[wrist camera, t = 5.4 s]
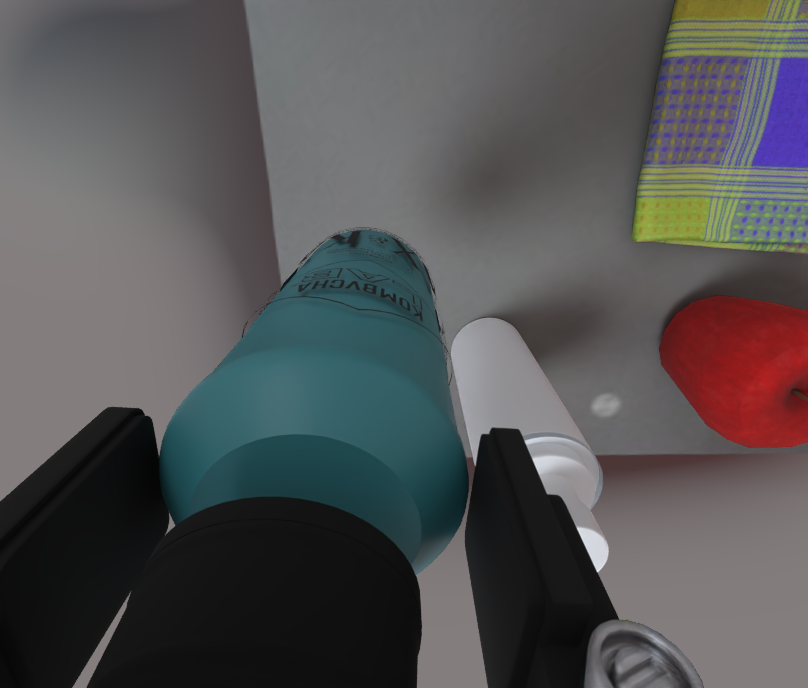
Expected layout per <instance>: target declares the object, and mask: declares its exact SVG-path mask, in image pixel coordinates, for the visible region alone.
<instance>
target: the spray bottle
mask: <svg viewBox="0 0 808 688" xmlns="http://www.w3.org/2000/svg"><path fill="white" fill-rule="evenodd" d="M451 358H452V363H453V368H454V372H455V377H456V382H457V386H458V391H459V395H460V400H461V405H462V409H463V414H464V418H465V423H466V428H467V432H468V437H469V441H470V446H471V450H472V455H473V459H474V463H475V466H476V460H477V454H478V448H479V441H480V437H481V434H489V432H490V430H491V428H492V427H495V428H513V429H519V430H520V432H521V434H522V436H523V438H524V441H525V443H526V446H527V448H528V450H529V453H530V455H531V457H532V460H533V462H534V464H535V467H536V469H537V471H538V474H539V476H540V478H541V481H542V483H543V485H544V488H545V490H546V493H547V494H553V495H559V496H560V497H562V499H563V501H564V502H565V504H566V506H567V508H568V510H569V513H570V515H571V517H572V519H573V521H574V523H575V525H576V528H577V530H578V532H579V534H580V536H581V538H582V540H583V543H584V545H585V547H586V549H587V551H588V553H589V556H590V558H591V560H592V562H593V564H594V566H595V568H596V571H597V572H598V571H600V570H601V568H602V567H603V566H604V564H605V563H606V561H607V558H608V553H609V549H608V544H607V541H606V539H605V537H604V535H603V533H602V531H601V529H600V527H599V525H598V524H597V522H596V520H595V518H594V516H593V514H592V512H591V511H590V510H591V509H592V508H593V506H594V505H595V504H596V502H597V500H598V498H599V496H600V494H601V491H602V487H603V473H602V469H601V466H600V464H599V462H597V461H598V460H596V457H595V455H594V454H593V452H592V450H591V449H590V447H589V445H588V444H587V442H586V440H585V439H584V437H583V435H582V434H581V432H580V431H579V429H578V427H577V426H576V424H575V422H574V421H573V419H572V418H571V416H570V414H569V413H568V411H567V409H566V408H565V406H564V404H563V403H562V401H561V400H560V398H559V396H558V395H557V393H556V392H555V390H554V388H553V387H552V385H551V384H550V382H549V380H548V379H547V377H546V376H545V374H544V372H543V371H542V369H541V368H540V366H539V364H538V363H537V361H536V360H535V358H534V356H533V355H532V353H531V352H530V350H529V348H528V347H527V345H526V344H525V342H524V340H523V339H522V337H521V336H520V334H519V332H518V331H517V330H516V329H515V328H514V327H513V326H512V325H511V324H509V323H508V322H506V321H504V320H501V319H497V318H482V319H478V320H475V321H473V322H471V323H469V324H467V325H466V326H464V327H463V328H462V329H461V330H460V331H459V333H458V334H457V335H456V337H455V339H454V341H453V344H452V348H451ZM598 465H599V466H598ZM599 469H600V481H599ZM598 482H599V485H598ZM597 486H598V488H597ZM596 489H597V491H596Z"/></svg>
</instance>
